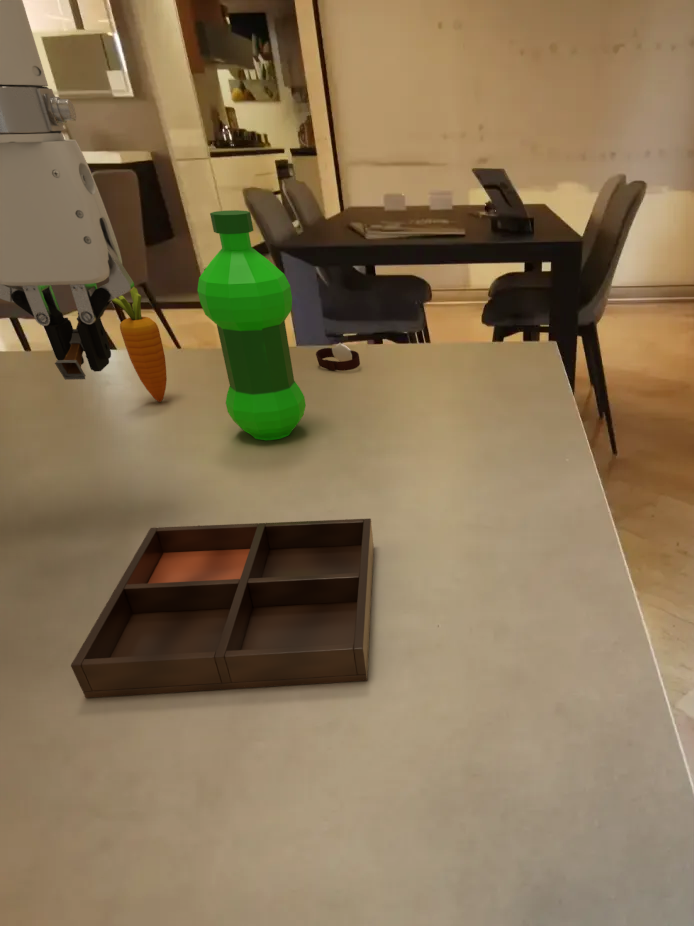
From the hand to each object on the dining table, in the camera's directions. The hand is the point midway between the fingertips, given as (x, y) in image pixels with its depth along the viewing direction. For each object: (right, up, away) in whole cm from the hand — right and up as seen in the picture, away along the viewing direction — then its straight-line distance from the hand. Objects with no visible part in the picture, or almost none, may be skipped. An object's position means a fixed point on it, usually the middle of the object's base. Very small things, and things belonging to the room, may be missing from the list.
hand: (87, 366), depth 64 cm
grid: (+17, -23, -4) cm, 29 cm away
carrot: (-11, +10, +38) cm, 41 cm away
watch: (+12, +20, +52) cm, 57 cm away
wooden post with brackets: (0, 0, 0) cm, 0 cm away
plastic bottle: (+8, +2, +28) cm, 30 cm away
